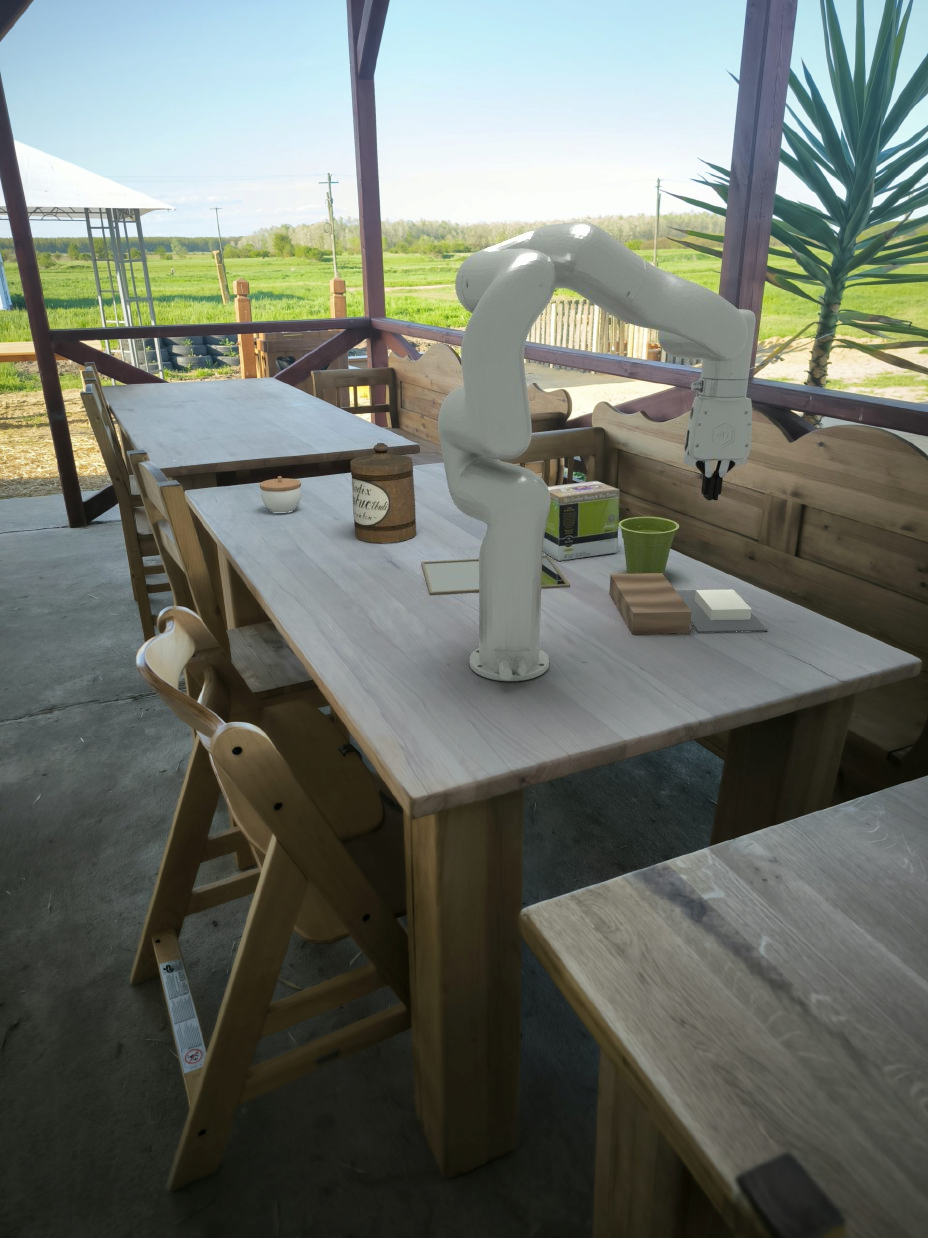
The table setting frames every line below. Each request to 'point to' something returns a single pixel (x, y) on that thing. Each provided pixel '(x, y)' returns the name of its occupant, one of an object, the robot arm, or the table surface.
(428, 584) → the picture frame
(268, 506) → the lidded jar
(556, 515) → the tea box
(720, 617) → the cream white slab
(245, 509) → the table surface
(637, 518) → the plant pot
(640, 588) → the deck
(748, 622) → the mat
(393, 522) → the wooden container
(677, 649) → the table surface
